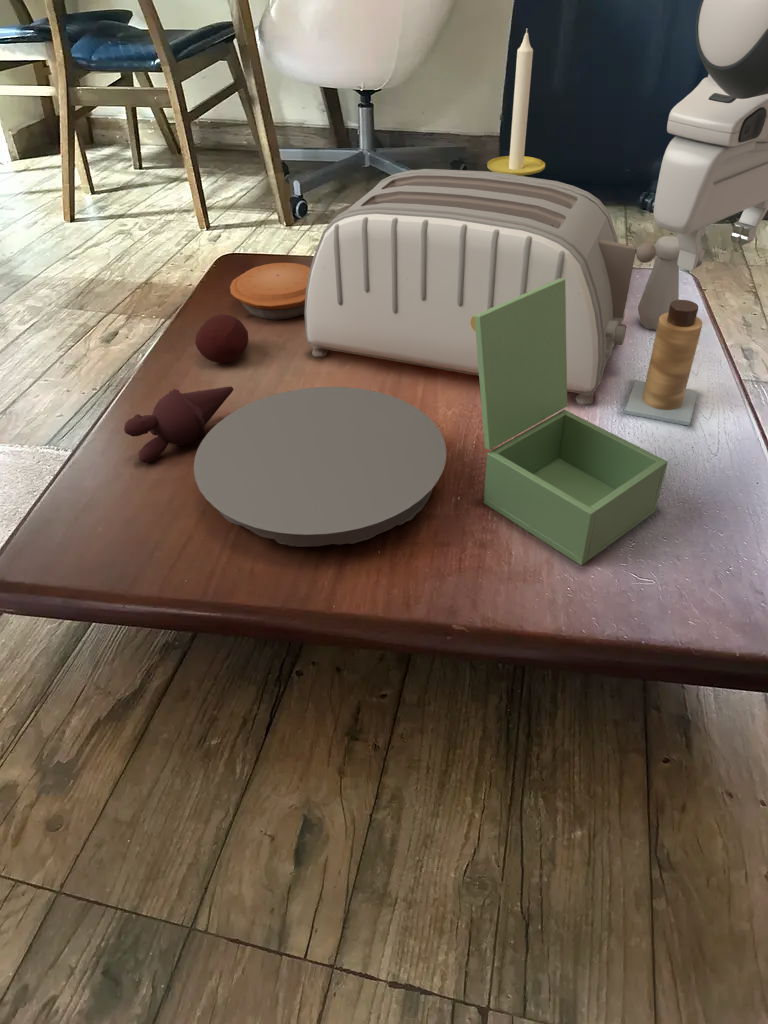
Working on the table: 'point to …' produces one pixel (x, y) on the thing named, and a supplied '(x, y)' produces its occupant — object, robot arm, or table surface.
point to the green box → (573, 484)
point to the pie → (273, 290)
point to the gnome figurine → (176, 419)
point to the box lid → (522, 361)
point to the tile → (674, 416)
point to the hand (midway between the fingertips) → (715, 254)
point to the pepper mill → (672, 356)
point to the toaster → (467, 269)
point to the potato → (222, 338)
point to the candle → (519, 121)
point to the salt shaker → (661, 283)
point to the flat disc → (321, 465)
